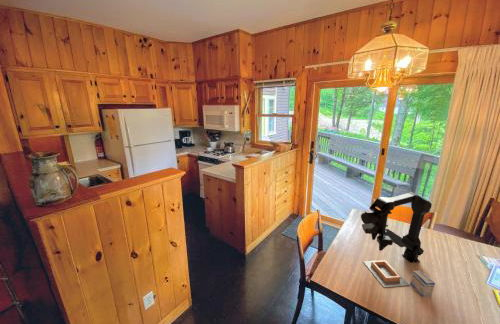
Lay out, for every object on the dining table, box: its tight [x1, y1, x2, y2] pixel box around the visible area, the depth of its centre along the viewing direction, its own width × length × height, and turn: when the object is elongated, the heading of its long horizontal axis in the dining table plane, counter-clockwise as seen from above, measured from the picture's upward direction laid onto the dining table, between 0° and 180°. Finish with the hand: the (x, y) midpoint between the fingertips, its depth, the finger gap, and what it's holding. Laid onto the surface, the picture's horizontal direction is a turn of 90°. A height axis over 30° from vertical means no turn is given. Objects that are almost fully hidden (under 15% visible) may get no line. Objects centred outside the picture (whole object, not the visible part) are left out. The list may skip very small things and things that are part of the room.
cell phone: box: [384, 228, 404, 248], centre depth 143 cm, size 9×18×1 cm, turn 15°
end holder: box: [362, 259, 411, 289], centre depth 113 cm, size 14×18×3 cm
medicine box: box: [409, 270, 436, 298], centre depth 102 cm, size 8×4×9 cm, turn 5°
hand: (376, 245), depth 115 cm, fingers open, 9 cm apart
